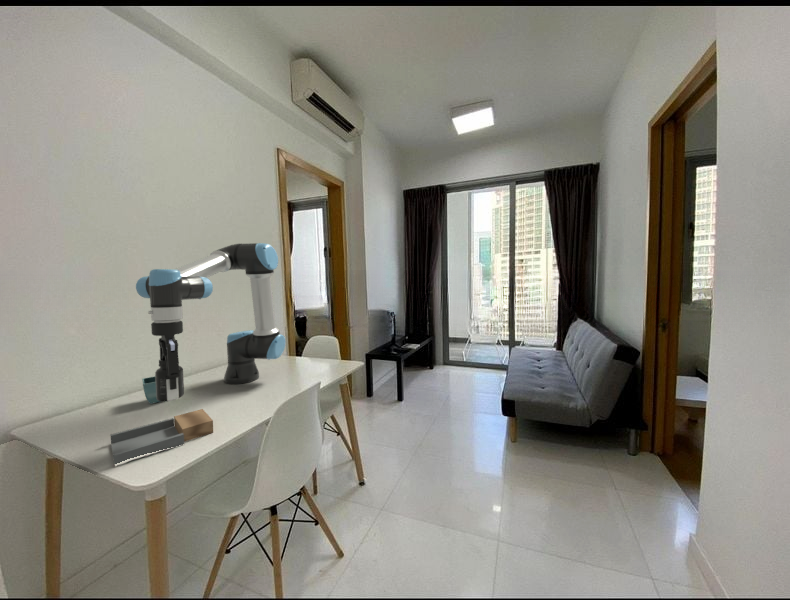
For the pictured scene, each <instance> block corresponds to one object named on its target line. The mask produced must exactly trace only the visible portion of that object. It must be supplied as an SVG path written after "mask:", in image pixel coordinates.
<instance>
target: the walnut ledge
mask: <svg viewBox="0 0 790 600" xmlns="http://www.w3.org/2000/svg"><path fill="white" fill-rule="evenodd" d="M173 418H174V426H175V428H176V430H177V431H178V433H179V434H181V433H183V434H184V443H185V442H188V441H191V440H195V439H197V438H200V437H204V436H206V435H210V434H213V433H214V420H213V419H212V417H211V416H209V414H208V413H207V412H206V411H205V410H204V409H203V408H200V409H197V410H193V411H190V412H186V413H181V414H178V415H175V416H174V415H173Z"/></svg>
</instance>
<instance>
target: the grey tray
mask: <svg viewBox="0 0 790 600" xmlns="http://www.w3.org/2000/svg"><path fill="white" fill-rule="evenodd" d="M183 444H184V445H185V442H184V434H183V433H181V434H179V433H178V431H177V430H176V428H175V426H174V417H171V418H167V419H163V420H159V421H156V422H153V423H148V424H145V425H141V426H138V427H133V428H131V429H126V430H125V429H124V430H122V431H118V432H115V433H110V445H111V452H112V458H113V459H114V460H113V459H112V460H113V465H114V464H117V463H120V462H122V461H125V460H127V459H130V458H134V457H137V456H140V455H144V454H147V453H152V452H156V451H159V450H163V449H167V448H171V447H174V448H177V447H176V446H178V447H180V446H179V445H181V446H183ZM171 449H172V448H171Z"/></svg>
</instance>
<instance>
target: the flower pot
mask: <svg viewBox="0 0 790 600" xmlns="http://www.w3.org/2000/svg"><path fill="white" fill-rule="evenodd" d="M141 380H142V381H141V382H142V388H143V392H144V397H145V399H146V400H147V402H148V403H149V404H151V405H152V404H155V403H161V402H162V401H158V400H157V399H156V382H155V375H154V376H149V377H143V378H141Z"/></svg>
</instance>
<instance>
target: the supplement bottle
mask: <svg viewBox="0 0 790 600" xmlns="http://www.w3.org/2000/svg"><path fill="white" fill-rule="evenodd" d="M178 361H180V360H179V357H178ZM154 373H155V374H154V376H155V382H156V399H157V400H158V401H161V402H168V401H167V385H166V380H164V378H165V377H167V370H166V361H165V358H163V359H160V358H159V359H158V368H157V369H156V370H155V372H154ZM172 374H173V373H172ZM179 374H180V376H179V377H178V389H179V399H181V398H183V396H184V395H185V384H184V383H185V382H184V368H183V367H182V366H181V365H179ZM170 401H171V402H172V400H170ZM170 401H169V402H170Z"/></svg>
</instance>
